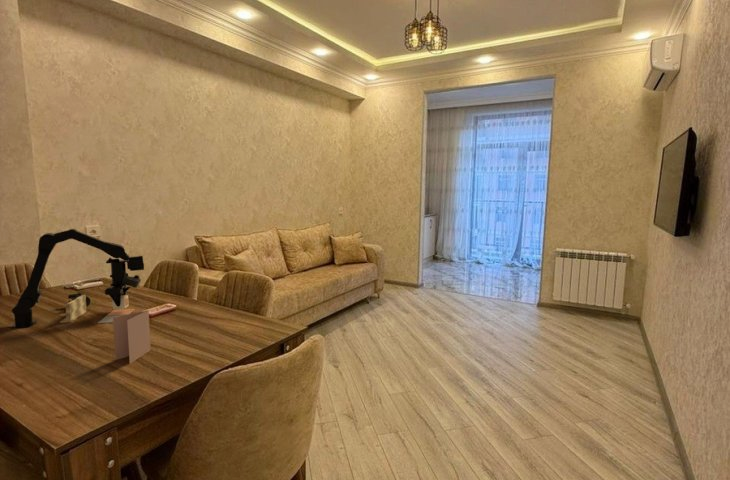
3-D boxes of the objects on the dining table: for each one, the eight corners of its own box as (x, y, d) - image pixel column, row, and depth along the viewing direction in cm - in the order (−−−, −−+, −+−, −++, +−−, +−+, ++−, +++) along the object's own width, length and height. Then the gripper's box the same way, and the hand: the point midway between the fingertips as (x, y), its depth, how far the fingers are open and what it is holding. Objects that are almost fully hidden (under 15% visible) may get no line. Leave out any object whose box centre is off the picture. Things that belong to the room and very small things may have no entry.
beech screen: (70, 322, 171) (69, 304, 170) (59, 323, 170) (58, 304, 169) (86, 311, 187) (85, 294, 186) (76, 311, 186) (75, 295, 185)
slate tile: (121, 322, 172) (121, 321, 172) (97, 323, 170) (97, 322, 170) (128, 315, 181) (128, 315, 181) (105, 317, 179) (105, 316, 179)
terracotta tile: (128, 315, 182) (128, 314, 182) (106, 316, 180) (106, 315, 180) (135, 309, 191) (134, 308, 191) (114, 310, 189) (113, 309, 189)
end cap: (91, 308, 192) (90, 294, 191) (73, 311, 187) (72, 297, 186) (86, 304, 198) (85, 290, 198) (68, 306, 193) (67, 293, 193)
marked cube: (125, 308, 183) (124, 297, 183) (112, 309, 182) (112, 298, 181) (129, 305, 188) (128, 294, 187) (116, 306, 187) (116, 295, 186)
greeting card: (149, 349, 145) (147, 309, 143) (158, 354, 140) (156, 313, 138) (114, 359, 136) (111, 317, 134) (122, 365, 131) (120, 321, 129)
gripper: (131, 275, 176) (133, 309, 178) (143, 267, 194) (145, 298, 196) (103, 276, 173) (105, 311, 175) (118, 268, 191) (120, 299, 193)
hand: (120, 304), depth 185 cm, fingers closed on marked cube, 5 cm apart
